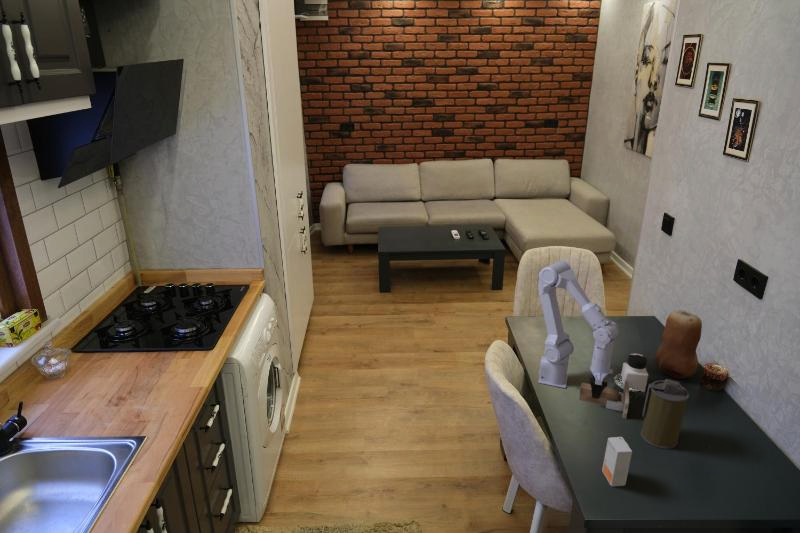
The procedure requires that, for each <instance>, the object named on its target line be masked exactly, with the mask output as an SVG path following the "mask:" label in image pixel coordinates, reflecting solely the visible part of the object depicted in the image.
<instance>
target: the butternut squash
mask: <svg viewBox="0 0 800 533" xmlns="http://www.w3.org/2000/svg"><path fill="white" fill-rule="evenodd" d="M702 323H703V322H702V320H701V318H700V317H699V316H697V315H695V314H693V313H691V312H688V311H687V310H683V309H677V310H674V311H672V312H670V314H668V316H667V318H666V321H665V325H664V330H663V332H662V334H661V339H662V342H661V343H660V345H659V346H658V348H657V350H656V352H655V353H656V354H655V357H654V358H653V359H654V362H655V364H656V367H657V368H658V369H659V371H660V372H662V373H663V374H664V375H667V376H669V377H671V378H672V379H680V380H681V379H687V378H689V377H691V376H693V375H695V373H696V371H697V369H698V366H699V360H698V354H697V348H698V346H699V343H700V341H701V338H702V328H703V324H702Z"/></svg>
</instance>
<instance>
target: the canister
mask: <svg viewBox="0 0 800 533" xmlns="http://www.w3.org/2000/svg"><path fill="white" fill-rule="evenodd" d="M689 397H690V393H689V391H688V390H687V388H685V387H684V386H682V385H681V382H680V381H676V380H672V379H667V378H666V379H664V380H663V379H662V380H661V379H660V380H654V381H653V382H651V383H648V385H647V391H646V396H645V401H644V406H643V410H642V417H643V424H642V428H641V430H640V436H641V438H642V439H643V440H644V441H645V442H646V443H648V444H649V445H651V446H652V447H655V448H658V449H662V450H667V449H668V450H670V449H674V448H675V447H677V445H678V444H679V443H678V442H679V440H678V439H679V436H680V431H681V428H682V422H683V419H684V416H685V411H686V407H687V404H688V403H687V402H688V399H689Z"/></svg>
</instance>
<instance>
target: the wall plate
mask: <svg viewBox="0 0 800 533" xmlns="http://www.w3.org/2000/svg"><path fill="white" fill-rule="evenodd" d="M622 391H623V392H622V393H624V407H623V412H622V419H625V420H626V419H627V416H628V415H627V414H628V411H629V407H630V406H629V404H630V391H629V380H625V385H624V389H623V390H622Z"/></svg>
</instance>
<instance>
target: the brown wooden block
mask: <svg viewBox="0 0 800 533" xmlns="http://www.w3.org/2000/svg"><path fill="white" fill-rule="evenodd" d="M619 392H620V389H616V388H610V387H606V388H604V390H603V391H602V393H601V395H600V397H599V399H596V398H592V389H591V385H590V383H586V382H581V384H580V390H579V396H578V397H579V398H578V400H580V401H583V402H589V403H592V404H593V403H594V404H597V405H603V406H606V402H607V399H609V400H614V401H618V397H619Z"/></svg>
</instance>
